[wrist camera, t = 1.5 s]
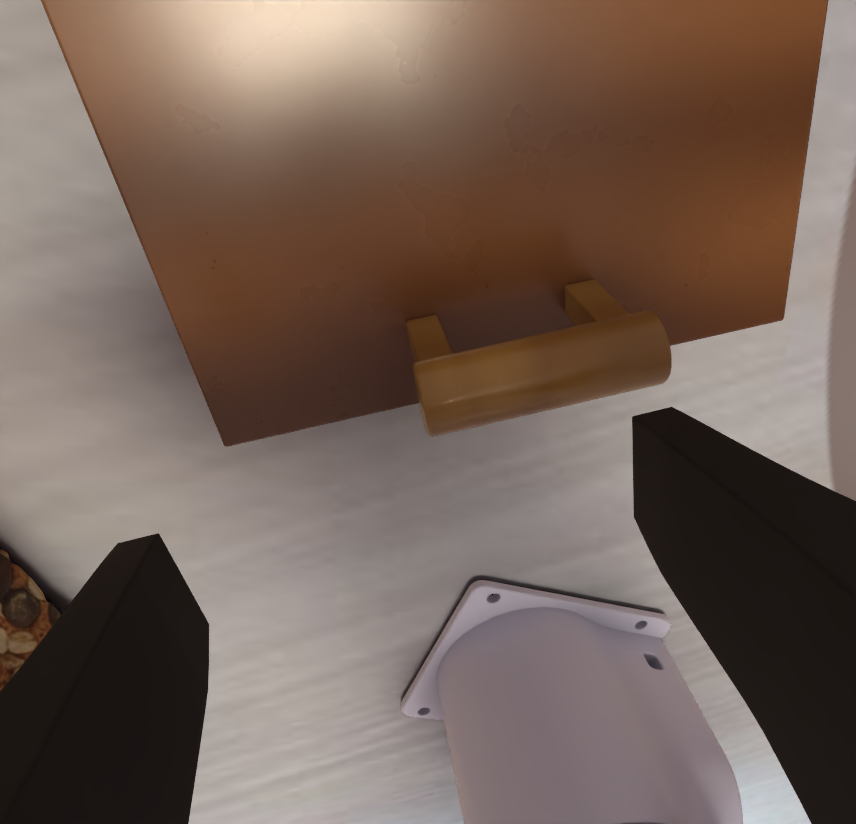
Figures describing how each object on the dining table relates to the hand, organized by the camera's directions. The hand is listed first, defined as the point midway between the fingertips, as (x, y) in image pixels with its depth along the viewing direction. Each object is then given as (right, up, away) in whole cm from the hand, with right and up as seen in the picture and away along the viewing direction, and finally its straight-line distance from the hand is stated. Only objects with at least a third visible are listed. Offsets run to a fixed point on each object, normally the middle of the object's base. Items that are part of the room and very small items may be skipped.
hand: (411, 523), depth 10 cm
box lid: (+1, +7, +3) cm, 8 cm away
